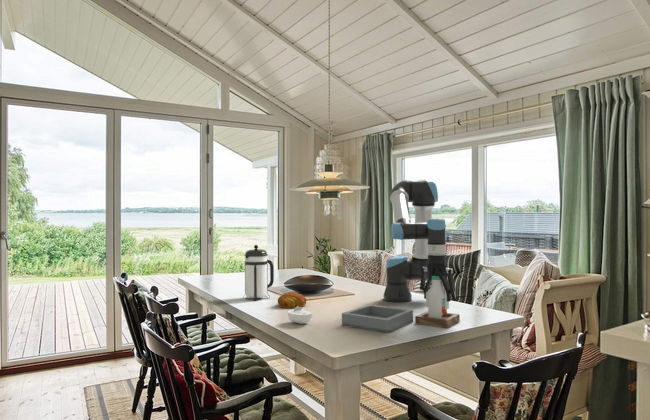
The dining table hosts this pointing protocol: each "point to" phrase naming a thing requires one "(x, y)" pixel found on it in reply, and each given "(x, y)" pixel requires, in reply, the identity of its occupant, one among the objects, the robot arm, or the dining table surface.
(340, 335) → the dining table surface
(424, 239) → the robot arm
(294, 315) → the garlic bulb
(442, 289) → the milk bottle
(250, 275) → the coffee press
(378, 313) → the charcoal tray
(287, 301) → the croissant
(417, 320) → the wooden square tray
